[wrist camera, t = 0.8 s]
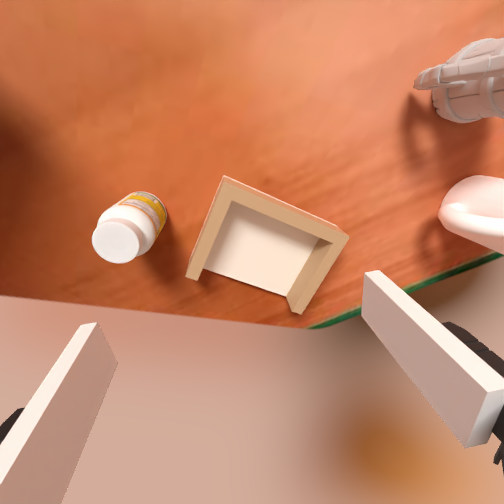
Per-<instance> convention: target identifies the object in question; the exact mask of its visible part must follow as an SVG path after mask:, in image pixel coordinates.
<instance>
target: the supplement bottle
mask: <svg viewBox="0 0 504 504" xmlns="http://www.w3.org/2000/svg"><path fill="white" fill-rule="evenodd" d="M166 219H167V212H166V209H165V206H164V205H163V203H162V202H161V200H160V199H158V198H157V197H156V196H154V195H153V194H150V193H147V192H134V193H131V194H129V195H128V196H126V197H125V198H123V199H122V200H120V201H119V202H118V203H116V204H115V205H113V206H112V207H110V208H109V209H107V210H106V211H105V212H104V213H103V214H102V215H101V216H100V218H99V220H98V224H97V228H96V229H95V231H94V232H93V235H92V244H93V247H94V249H95V251H96V252H97V253H98V254H99V255H100V256H101V257H102V258H103V259H105V260H107V261H109V262H112V263H126V262H129V261H131V260H133V259H134V258H135V257H136V256H140V255H142V254H144V253H145V252H147V251H148V250H149V249H150V248H151V246H152V245H153V243H154V241H155V240H156V238H157V237H158V235H159V233H160V232H161V230H162V228H163V226H164V224H165V222H166Z"/></svg>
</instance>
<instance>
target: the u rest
mask: <svg viewBox="0 0 504 504" xmlns="http://www.w3.org/2000/svg"><path fill="white" fill-rule="evenodd" d="M349 238H350V236H348V235H347V234H346V233H345V232H343V231H342V230H341V229H340V228H339V227H337V226H336V225H335V224H332V223H330V222H328V221H326V220H323V219H321V218H319V217H317V216H315V215H312V214H310V213H308V212H306V211H303V210H301V209H299V208H297V207H294V206H292V205H290V204H288V203H285V202H283V201H281V200H279V199H277V198H274V197H272V196H270V195H268V194H265V193H263V192H261V191H259V190H256V189H254V188H252V187H250V186H247V185H245V184H243V183H241V182H238V181H236V180H234V179H232V178H230V177H227V176H225V175H223V177H222V180H221V182H220V185H219V187H218V190H217V192H216V195H215V197H214V200H213V202H212V205H211V207H210V210H209V212H208V215H207V217H206V220H205V222H204V225H203V227H202V230H201V232H200V235H199V237H198V240H197V242H196V245H195V247H194V249H193V252H192V254H191V257H190V259H189V263H188V267H187V271H186V276H185V277H187V278H190V279H193V280H197V281H198V278H199V276H200V274H201V271H202V269H203V268H204V269H207V270H209V271H212V272H215V273H218V274H221V275H224V276H227V277H230V278H233V279H236V280H239V281H242V282H245V283H248V284H251V285H254V286H257V287H260V288H262V289H265V290H268V291H271V292H274V293H277V294H280V295H283V296H286V298H287V301H288V303H289V306H290V308H291V311H292V312H295V313H298V314H302V313H303V311H304V310H305V308H306V306H307V305H308V303H309V302H310V300H311V298H312V297H313V295H314V294H315V292H316V290H317V289H318V287H319V286H320V284H321V282H322V281H323V279H324V278H325V276H326V274H327V273H328V271H329V270H330V268H331V266H332V265H333V263H334V262H335V260H336V258H337V257H338V255H339V254H340V252H341V250H342V249H343V247H344V246H345V244H346V242H347V241H348V239H349Z"/></svg>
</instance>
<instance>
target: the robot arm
mask: <svg viewBox="0 0 504 504" xmlns="http://www.w3.org/2000/svg"><path fill="white" fill-rule="evenodd" d="M361 316H362V317H363V319H364V320H365V321H366V322H367V324H368V325H369V326H370V327H371V329H372V330H373V331H374V333H375V334H376V335H377V336H378V338H379V339H380V340H381V342H382V343H383V344H384V345H385V347H386V348H387V349H388V351H389V352H390V353H391V354H392V355H393V357H394V358H395V360H396V361H397V362H398V363H399V365H400V366H401V367H402V368H403V370H404V371H405V372H406V373H407V375H408V376H409V377H410V379H411V380H412V381H413V383H414V384H415V385H416V386H417V388H418V389H419V390H420V392H422V394H423V395H424V397H425V398H426V399H427V401H428V402H429V403H430V404H431V406H432V407H433V408H434V409H435V411H436V412H437V413H438V415H439V416H440V417H441V418H442V420H443V421H444V422H445V424H446V425H447V426H448V427H449V429H450V430H451V431H452V432H453V434H454V435H455V436H456V438H457V439H458V440H459V441H460V443H461V444H462V445H463V446H464V448H468V447H473V446H477V445H481V444H486V443H487V442H488V440H489V438H490V436H491V433H492V432H493V433H494V434H495V435H496V436H497V438H498V439H499V440H500V441H501V444H500V446H499V448H498V450H497V452H496V454H495V456H494V462H493V463H495V464H497V465H498V464H499V462H500V460H501V459H502V466H503V473H504V361H503V360H502V359H501V358H500V357H498V356H497V355H496V354H495V353H494V352H492V351H490V350H489V349H488V348H487V347H486V346H485V345H484V344H483V343H481V342H479V341H478V339H476V338H475V337H474V336H472V335H471V334H470V333H469V332H468V331H466V330H465V329H463V328H461V327H459V326H457V325H455V324H453V323H451V322H446V323H439V322H438V321H437V320H436V319H435V318H434V317H432V316H431V315H430V314H429V313H428V312H427V311H425V310H424V309H423V308H422V307H421V306H420V305H419V304H417V303H416V302H415V301H414V300H413V299H412V298H410V297H409V296H408V295H407V294H406V293H405V292H404V291H403V290H401V289H400V288H399V287H398V286H397V285H396V284H394V283H393V282H392V281H391V280H390V279H389V278H388V277H386V276H385V275H384V274H383V273H382V272H381V271H379V270H377V271H371V272H366V273H364V286H363V300H362V315H361ZM117 364H118V362H117V360H116V358H115V356H114V354H113V352H112V350H111V348H110V346H109V344H108V342H107V341H106V338H105V336H104V334H103V332H102V330H101V328H100V326H99V324H98V322H95V323H89V324H84V325H80V327H79V329H78V330H77V331H76V333H75V334H74V336H73V337H72V339H71V340H70V342H69V343H68V345H67V346H66V348H65V349H64V351H63V352H62V354H61V355H60V357H59V358H58V360H57V361H56V363H55V364H54V366H53V367H52V369H51V370H50V372H49V373H48V375H47V376H46V378H45V379H44V381H43V382H42V384H41V385H40V387H39V388H38V389H37V391H36V392H35V394H34V395H33V397H32V398H31V400H30V401H29V403H28V404H27V406H26V407H25V408H20V409H17V410H16V411H15V412H14V413H13V414H12V415H11V416H10V417H9V418H8V419H7V420H6V421H5V422H4V423H3V424H2V425H1V426H0V504H61V503H62V500H63V498H64V495H65V493H66V490H67V488H68V485H69V483H70V480H71V478H72V475H73V473H74V470H75V468H76V466H77V463H78V461H79V458H80V455H81V453H82V451H83V448H84V446H85V443H86V441H87V438H88V436H89V433H90V431H91V429H92V426H93V424H94V421H95V418H96V416H97V414H98V411H99V409H100V406H101V404H102V401H103V399H104V396H105V394H106V391H107V389H108V387H109V384H110V381H111V379H112V377H113V374H114V372H115V369H116V367H117Z"/></svg>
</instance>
